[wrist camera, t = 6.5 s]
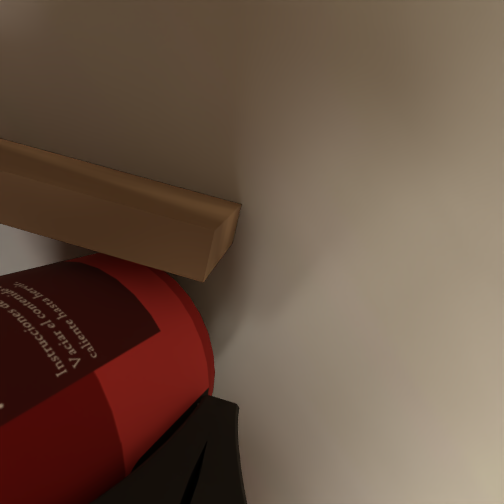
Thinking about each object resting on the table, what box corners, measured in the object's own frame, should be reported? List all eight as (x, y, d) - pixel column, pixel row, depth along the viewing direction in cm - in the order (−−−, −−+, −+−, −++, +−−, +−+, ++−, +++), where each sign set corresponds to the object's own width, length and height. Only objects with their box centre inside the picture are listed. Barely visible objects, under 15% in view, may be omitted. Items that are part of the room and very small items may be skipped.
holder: (178, 469, 17) (142, 560, 14) (-44, 396, 18) (-136, 464, 14) (241, 204, 13) (214, 230, 10) (-49, 125, 14) (-181, 119, 10)
